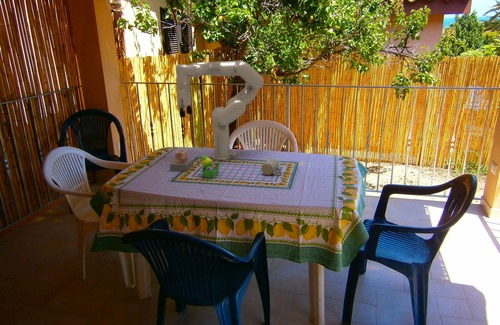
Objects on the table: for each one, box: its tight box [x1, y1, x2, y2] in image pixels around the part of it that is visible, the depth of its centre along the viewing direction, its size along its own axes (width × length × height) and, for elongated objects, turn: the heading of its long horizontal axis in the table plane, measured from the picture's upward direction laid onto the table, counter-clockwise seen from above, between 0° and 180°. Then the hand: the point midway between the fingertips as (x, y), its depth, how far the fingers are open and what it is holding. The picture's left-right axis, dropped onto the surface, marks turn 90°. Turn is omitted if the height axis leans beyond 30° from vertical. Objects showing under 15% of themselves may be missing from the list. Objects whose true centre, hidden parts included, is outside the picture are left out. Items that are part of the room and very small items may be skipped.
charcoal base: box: [169, 158, 194, 173], centre depth 219 cm, size 10×10×4 cm
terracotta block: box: [174, 150, 188, 163], centre depth 217 cm, size 5×5×6 cm
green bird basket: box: [200, 155, 221, 179], centre depth 206 cm, size 11×9×11 cm
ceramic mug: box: [261, 158, 283, 177], centre depth 206 cm, size 11×8×8 cm
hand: (186, 115), depth 223 cm, fingers open, 9 cm apart
